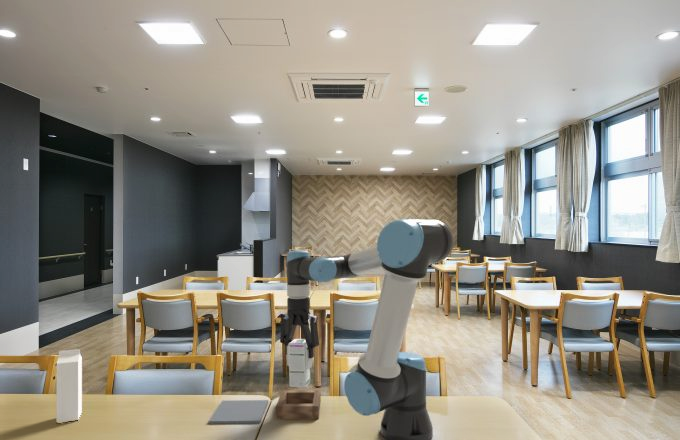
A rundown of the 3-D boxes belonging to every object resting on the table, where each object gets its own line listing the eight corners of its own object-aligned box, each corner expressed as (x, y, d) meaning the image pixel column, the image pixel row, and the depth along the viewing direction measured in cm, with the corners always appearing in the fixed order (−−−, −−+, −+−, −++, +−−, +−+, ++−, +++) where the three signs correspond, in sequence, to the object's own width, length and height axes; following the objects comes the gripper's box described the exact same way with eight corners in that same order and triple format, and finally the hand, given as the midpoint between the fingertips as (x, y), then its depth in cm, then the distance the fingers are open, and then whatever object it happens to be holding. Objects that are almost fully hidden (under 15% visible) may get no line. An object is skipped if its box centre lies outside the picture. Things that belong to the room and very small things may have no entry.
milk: (61, 416, 141) (60, 348, 142) (82, 413, 143) (82, 346, 144) (56, 424, 136) (56, 353, 136) (78, 421, 138) (78, 351, 138)
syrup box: (306, 388, 141) (305, 343, 141) (288, 387, 142) (288, 342, 143) (310, 382, 147) (310, 338, 147) (294, 381, 148) (293, 338, 148)
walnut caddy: (320, 401, 151) (320, 390, 151) (318, 418, 138) (318, 406, 138) (281, 402, 151) (281, 390, 151) (276, 419, 138) (276, 406, 138)
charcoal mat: (268, 402, 151) (268, 400, 151) (260, 423, 135) (260, 420, 135) (222, 402, 151) (222, 400, 151) (208, 423, 135) (208, 421, 135)
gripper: (329, 297, 143) (330, 367, 143) (281, 293, 153) (282, 359, 153) (317, 300, 137) (318, 374, 136) (268, 296, 147) (269, 365, 146)
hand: (299, 366), depth 145 cm, fingers closed on syrup box, 7 cm apart
